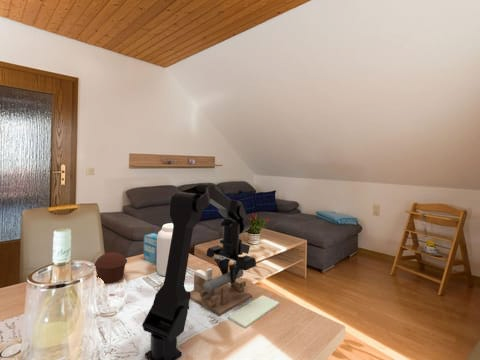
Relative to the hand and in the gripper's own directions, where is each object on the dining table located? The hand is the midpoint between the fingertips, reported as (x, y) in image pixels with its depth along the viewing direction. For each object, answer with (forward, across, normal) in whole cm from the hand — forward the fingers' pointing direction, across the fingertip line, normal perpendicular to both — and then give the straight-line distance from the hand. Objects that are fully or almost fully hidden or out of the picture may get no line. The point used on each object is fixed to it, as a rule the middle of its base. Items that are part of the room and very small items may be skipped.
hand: (229, 280), depth 93 cm
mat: (+6, -12, +1) cm, 13 cm away
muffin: (+6, +42, +23) cm, 48 cm away
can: (+6, +32, +2) cm, 33 cm away
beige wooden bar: (-1, +7, +6) cm, 9 cm away
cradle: (+6, +2, +3) cm, 7 cm away
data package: (+6, +46, +1) cm, 46 cm away
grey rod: (-1, 0, +2) cm, 3 cm away
